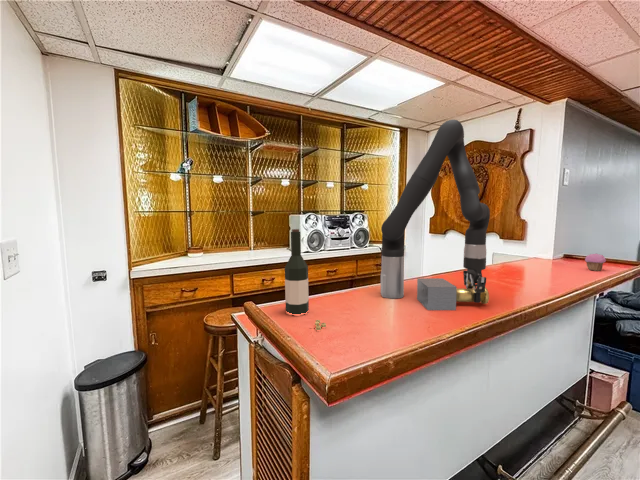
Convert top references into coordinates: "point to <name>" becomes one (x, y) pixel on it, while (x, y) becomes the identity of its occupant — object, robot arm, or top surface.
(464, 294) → the end cap
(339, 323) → the top surface
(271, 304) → the top surface
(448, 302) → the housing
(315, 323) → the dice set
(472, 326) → the top surface
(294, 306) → the wine bottle
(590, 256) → the cupcake
